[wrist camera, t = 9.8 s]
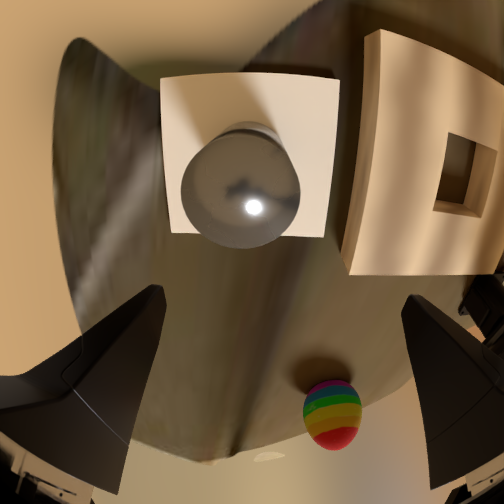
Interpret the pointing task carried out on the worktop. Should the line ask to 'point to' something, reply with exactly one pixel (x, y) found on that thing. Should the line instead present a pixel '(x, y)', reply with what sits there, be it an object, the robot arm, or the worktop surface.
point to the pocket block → (424, 164)
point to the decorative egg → (332, 414)
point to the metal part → (241, 187)
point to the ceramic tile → (257, 110)
